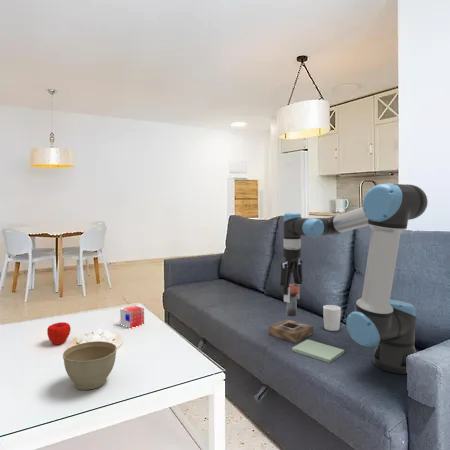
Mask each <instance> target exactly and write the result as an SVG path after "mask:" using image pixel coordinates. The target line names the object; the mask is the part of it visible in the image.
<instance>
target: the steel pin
mask: <svg viewBox="0 0 450 450" xmlns="http://www.w3.org/2000/svg"><path fill="white" fill-rule="evenodd" d="M300 286H301V285H300ZM300 286H299V285H296V284H295V283H290V284H289V287H290V303H288V302H286V312H285V313H286V316H288V317H296V316H298V315H297V312H298V310H297V309H298V307H297V304H298V301H297V300H298V299H297V294H299V295H300V292H301V287H300Z"/></svg>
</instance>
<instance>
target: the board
mask: <svg viewBox="0 0 450 450" xmlns="http://www.w3.org/2000/svg"><path fill="white" fill-rule="evenodd" d="M291 351H292V352H295V353H298V354H300V355H303V356H306V357H310V358H313V359H316V360H319V361H323V362H324V363H328V364H330V363H332V362H334V361H335V360H336V359H338V358H339V357H341V356H342V355H343V354H344V353H345V349H342V348H339V347H335V346H333V345H328V344H324V343H322V342H318V341H315V340H313V339H306V340H303V341H302V342H300V343H298V344H296V345H294V346H292V347H291Z"/></svg>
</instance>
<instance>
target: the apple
mask: <svg viewBox="0 0 450 450" xmlns="http://www.w3.org/2000/svg"><path fill="white" fill-rule="evenodd" d="M71 328H72V327H71V325H70V324H69V323H68V322H56V323H52V324H50V325H49V326H48V327H47V330H46V332H47V333H46V334H47V338H48V340H49V341H50V343H51V344H52V345H57V346H58V345H61V344H64V343H65V342H66V341H67V340H68V338H69V336H70V334H71V330H72V329H71Z"/></svg>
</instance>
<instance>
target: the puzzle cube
mask: <svg viewBox="0 0 450 450" xmlns="http://www.w3.org/2000/svg"><path fill="white" fill-rule="evenodd" d="M119 313H120V315H119V317H120V318H119V319H120V321H119V323H120V325H121V324H122V325H124V326H127V327H129V328H131V329H133V328H132V327H135V328H137V327H136V326H138V327H140V326H139V325H141V326H143V325H142V324H144V325H145V308H143V307H141V306H137V305H130V306H126V307H122V308H120V311H119ZM122 325H121V326H122ZM124 326H123V327H124ZM127 327H126V328H127ZM129 328H128V329H129Z"/></svg>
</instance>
